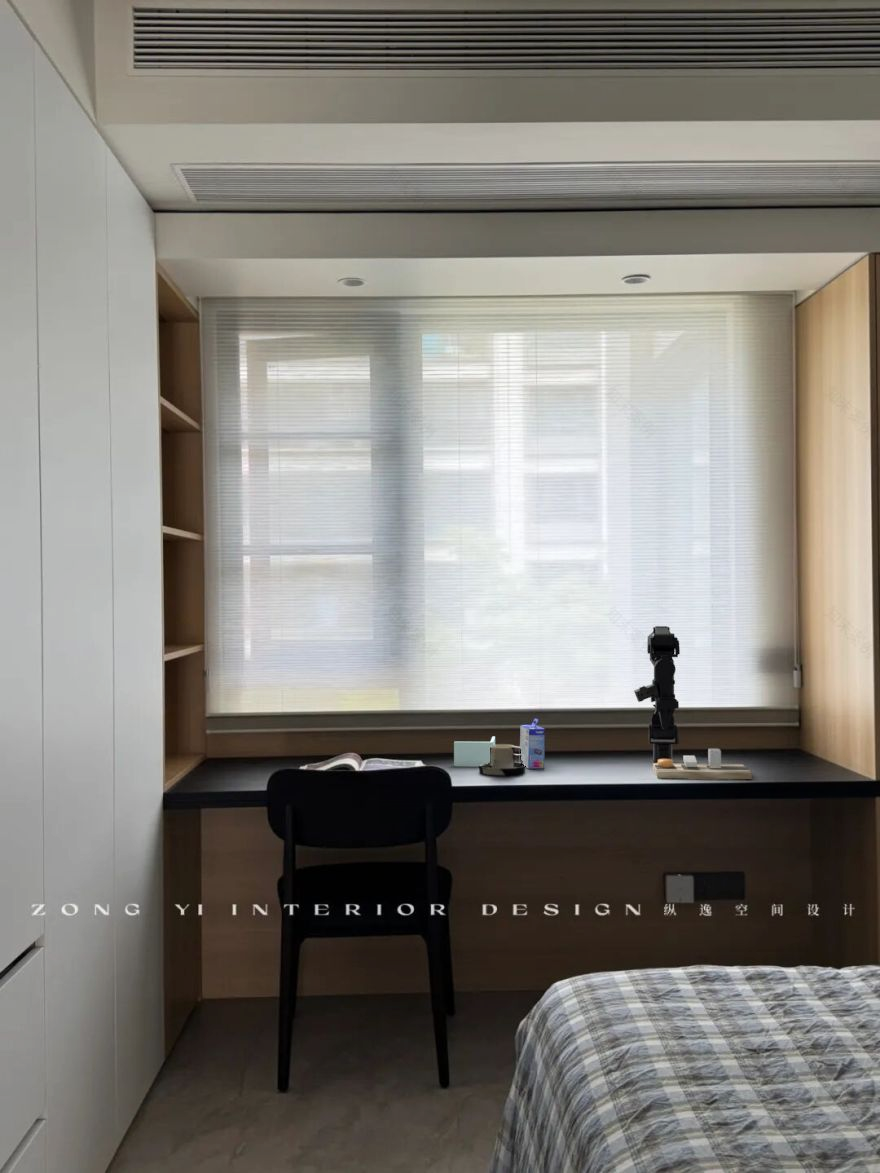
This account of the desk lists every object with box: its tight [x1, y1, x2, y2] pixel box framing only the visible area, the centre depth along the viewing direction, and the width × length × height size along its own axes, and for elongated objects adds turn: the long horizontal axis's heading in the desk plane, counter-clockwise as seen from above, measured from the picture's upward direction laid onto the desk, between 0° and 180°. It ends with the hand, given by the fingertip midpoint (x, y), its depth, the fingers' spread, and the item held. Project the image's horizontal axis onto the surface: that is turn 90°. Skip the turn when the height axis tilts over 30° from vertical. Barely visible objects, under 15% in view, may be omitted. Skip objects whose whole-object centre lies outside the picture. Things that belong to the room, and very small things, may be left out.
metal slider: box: [707, 748, 722, 768], centre depth 282 cm, size 4×3×5 cm
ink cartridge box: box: [519, 718, 546, 770], centre depth 298 cm, size 10×6×14 cm, turn 11°
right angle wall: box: [453, 736, 496, 768], centre depth 305 cm, size 12×12×8 cm
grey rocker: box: [682, 755, 698, 767], centre depth 283 cm, size 6×3×1 cm, turn 173°
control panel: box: [652, 762, 753, 780], centre depth 282 cm, size 14×26×2 cm, turn 83°
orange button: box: [658, 758, 674, 768], centre depth 284 cm, size 4×4×2 cm
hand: (664, 729), depth 284 cm, fingers closed
